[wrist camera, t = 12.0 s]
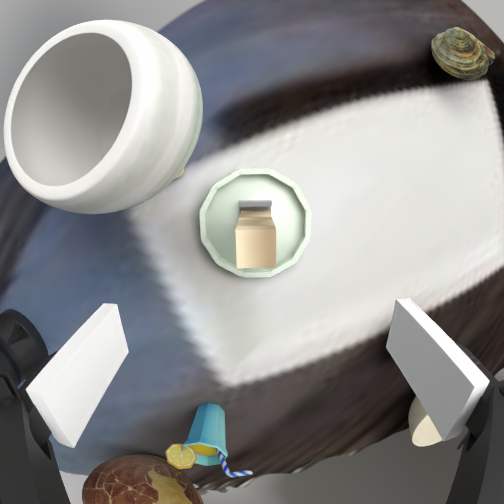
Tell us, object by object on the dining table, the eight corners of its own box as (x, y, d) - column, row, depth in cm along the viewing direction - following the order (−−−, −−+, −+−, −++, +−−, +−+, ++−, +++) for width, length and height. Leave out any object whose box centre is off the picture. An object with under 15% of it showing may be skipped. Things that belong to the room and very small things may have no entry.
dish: (205, 272, 40) (202, 279, 38) (200, 170, 36) (196, 170, 34) (307, 271, 40) (310, 278, 37) (308, 168, 36) (312, 168, 34)
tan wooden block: (242, 237, 38) (236, 268, 26) (241, 210, 37) (235, 229, 25) (269, 236, 38) (276, 267, 26) (269, 209, 37) (276, 229, 25)
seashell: (467, 106, 32) (507, 100, 23) (416, 63, 31) (452, 44, 21) (478, 64, 29) (513, 53, 20) (430, 22, 28) (462, 1, 19)
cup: (251, 397, 47) (250, 465, 32) (254, 423, 49) (253, 486, 35) (175, 397, 47) (156, 460, 33) (183, 422, 49) (169, 482, 35)
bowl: (386, 392, 47) (404, 427, 37) (451, 345, 44) (477, 374, 35) (405, 424, 51) (419, 455, 41) (461, 385, 48) (481, 412, 38)
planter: (90, 138, 35) (-29, 132, 13) (170, 57, 32) (95, -29, 10) (158, 218, 38) (62, 278, 17) (248, 136, 35) (240, 91, 13)
